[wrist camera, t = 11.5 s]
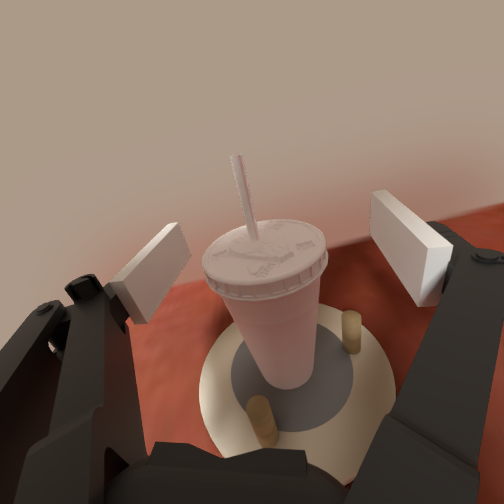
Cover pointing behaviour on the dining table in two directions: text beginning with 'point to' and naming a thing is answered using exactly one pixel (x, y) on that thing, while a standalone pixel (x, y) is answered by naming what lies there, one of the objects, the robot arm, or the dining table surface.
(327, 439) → the cup holder base
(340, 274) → the dining table surface
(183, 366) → the dining table surface
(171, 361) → the dining table surface
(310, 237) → the smoothie
